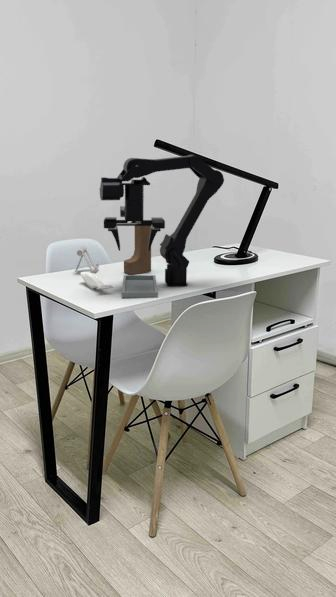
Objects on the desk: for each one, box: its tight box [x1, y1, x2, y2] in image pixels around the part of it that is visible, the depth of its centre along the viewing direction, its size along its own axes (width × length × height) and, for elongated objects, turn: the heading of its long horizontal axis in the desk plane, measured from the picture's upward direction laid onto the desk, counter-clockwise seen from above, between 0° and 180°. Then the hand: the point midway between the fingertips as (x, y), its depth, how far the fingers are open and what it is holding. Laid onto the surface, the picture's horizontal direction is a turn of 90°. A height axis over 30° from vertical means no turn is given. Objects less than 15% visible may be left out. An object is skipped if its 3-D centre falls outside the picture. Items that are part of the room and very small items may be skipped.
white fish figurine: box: [79, 271, 114, 290], centre depth 177 cm, size 6×18×4 cm, turn 28°
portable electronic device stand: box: [75, 245, 100, 274], centre depth 201 cm, size 9×8×8 cm
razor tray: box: [121, 274, 159, 300], centre depth 176 cm, size 11×23×2 cm, turn 3°
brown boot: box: [123, 221, 152, 275], centre depth 198 cm, size 9×4×18 cm, turn 124°
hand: (134, 250), depth 175 cm, fingers open, 9 cm apart
